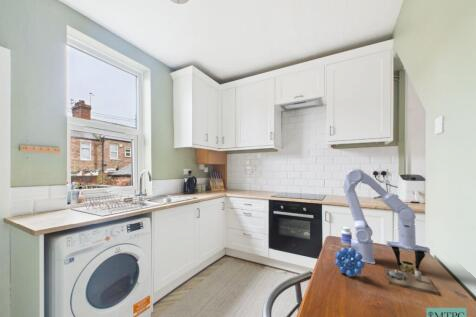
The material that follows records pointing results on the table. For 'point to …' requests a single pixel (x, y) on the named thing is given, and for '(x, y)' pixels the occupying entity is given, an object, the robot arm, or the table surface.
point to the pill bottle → (346, 236)
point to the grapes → (349, 261)
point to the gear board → (410, 280)
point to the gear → (408, 266)
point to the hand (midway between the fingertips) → (407, 266)
